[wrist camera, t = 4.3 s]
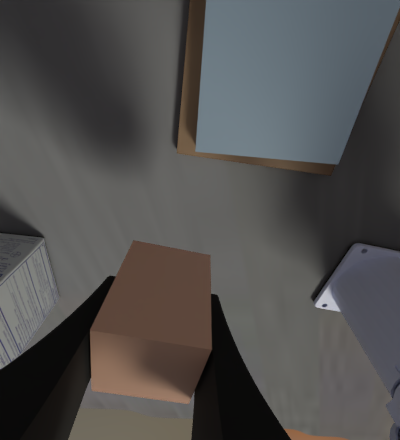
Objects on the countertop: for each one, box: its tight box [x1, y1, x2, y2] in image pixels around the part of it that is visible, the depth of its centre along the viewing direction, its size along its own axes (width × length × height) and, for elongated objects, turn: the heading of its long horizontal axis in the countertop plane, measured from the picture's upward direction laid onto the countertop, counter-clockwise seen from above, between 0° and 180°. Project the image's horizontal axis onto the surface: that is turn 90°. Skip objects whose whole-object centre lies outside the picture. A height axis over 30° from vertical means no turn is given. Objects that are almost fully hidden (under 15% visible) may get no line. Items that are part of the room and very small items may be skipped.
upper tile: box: [195, 0, 400, 165], centre depth 13 cm, size 9×9×2 cm
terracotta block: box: [90, 241, 212, 404], centre depth 11 cm, size 4×4×5 cm
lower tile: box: [177, 0, 400, 176], centre depth 14 cm, size 11×11×2 cm
